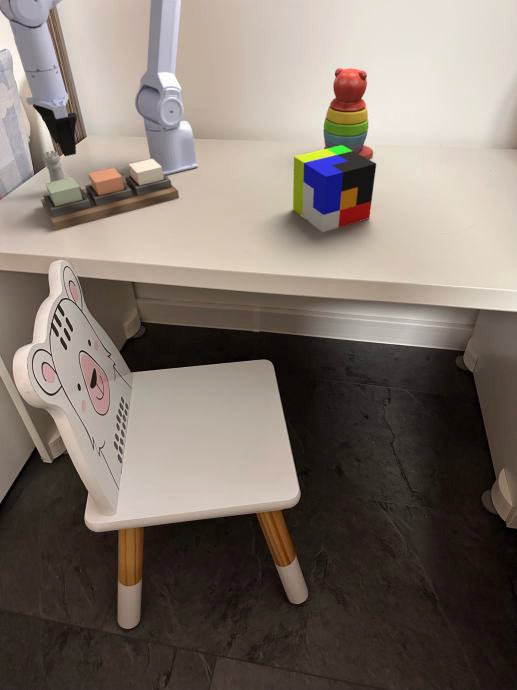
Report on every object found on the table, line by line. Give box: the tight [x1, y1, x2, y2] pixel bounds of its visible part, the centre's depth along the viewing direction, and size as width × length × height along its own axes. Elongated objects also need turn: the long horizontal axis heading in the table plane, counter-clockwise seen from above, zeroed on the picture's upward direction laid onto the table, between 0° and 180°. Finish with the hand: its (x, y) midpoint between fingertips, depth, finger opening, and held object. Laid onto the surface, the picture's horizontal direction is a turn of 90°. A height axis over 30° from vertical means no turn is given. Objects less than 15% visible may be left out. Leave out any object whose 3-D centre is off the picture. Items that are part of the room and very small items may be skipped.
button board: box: [40, 174, 180, 231], centre depth 96 cm, size 24×11×3 cm, turn 119°
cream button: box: [128, 158, 164, 185], centre depth 97 cm, size 5×5×2 cm
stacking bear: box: [323, 67, 374, 160], centre depth 105 cm, size 11×10×18 cm
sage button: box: [44, 176, 83, 206], centre depth 92 cm, size 5×5×2 cm
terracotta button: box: [87, 167, 124, 196], centre depth 95 cm, size 5×5×2 cm
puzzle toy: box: [292, 145, 377, 233], centre depth 88 cm, size 10×10×10 cm
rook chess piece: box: [42, 150, 67, 182], centre depth 99 cm, size 4×4×8 cm
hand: (65, 148), depth 94 cm, fingers open, 7 cm apart
